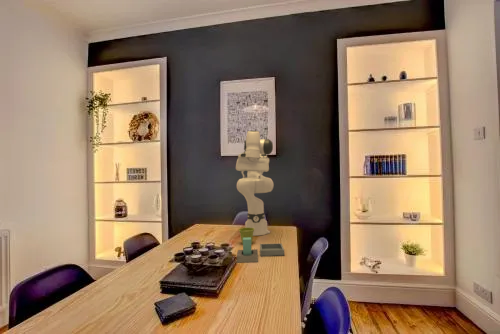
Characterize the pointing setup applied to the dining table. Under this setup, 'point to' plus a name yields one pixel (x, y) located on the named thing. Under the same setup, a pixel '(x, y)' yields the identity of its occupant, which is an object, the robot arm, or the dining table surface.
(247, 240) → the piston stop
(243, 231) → the plant pot
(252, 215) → the robot arm
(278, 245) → the parts tray
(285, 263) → the dining table surface
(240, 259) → the grey flat square block
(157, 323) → the dining table surface
